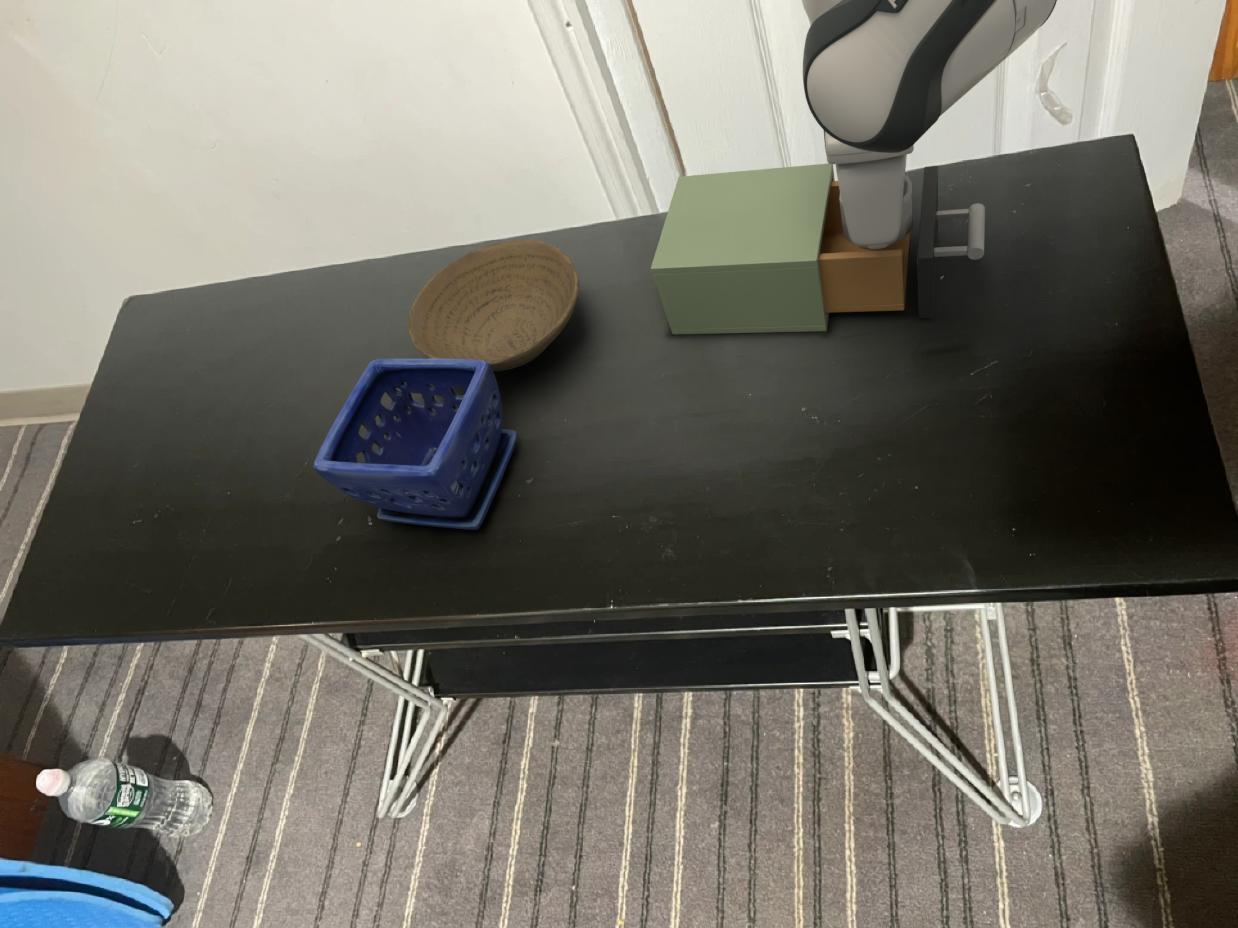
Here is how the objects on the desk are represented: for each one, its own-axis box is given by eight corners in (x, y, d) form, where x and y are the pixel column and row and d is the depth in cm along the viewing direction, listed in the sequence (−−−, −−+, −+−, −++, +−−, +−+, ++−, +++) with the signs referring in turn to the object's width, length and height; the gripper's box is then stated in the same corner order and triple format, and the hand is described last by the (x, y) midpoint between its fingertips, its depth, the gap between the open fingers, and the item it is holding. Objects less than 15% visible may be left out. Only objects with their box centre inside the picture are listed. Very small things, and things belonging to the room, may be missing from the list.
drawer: (983, 224, 87) (986, 161, 81) (981, 316, 80) (984, 254, 75) (792, 235, 94) (782, 178, 88) (775, 321, 87) (764, 265, 81)
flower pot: (423, 430, 93) (367, 353, 84) (536, 435, 88) (489, 354, 79) (372, 538, 86) (305, 468, 77) (491, 551, 81) (434, 477, 72)
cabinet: (840, 235, 93) (832, 162, 86) (826, 331, 86) (816, 260, 79) (697, 244, 99) (678, 176, 92) (672, 334, 91) (650, 268, 84)
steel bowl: (925, 214, 82) (924, 174, 79) (892, 259, 80) (890, 220, 77) (864, 201, 86) (860, 162, 82) (831, 244, 83) (826, 206, 80)
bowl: (603, 275, 100) (581, 219, 94) (595, 400, 89) (569, 346, 83) (452, 306, 104) (421, 254, 98) (427, 428, 93) (391, 378, 87)
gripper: (831, 15, 78) (843, 149, 88) (824, 161, 66) (840, 296, 77) (906, 0, 76) (910, 140, 86) (914, 149, 64) (917, 289, 75)
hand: (877, 214), depth 81 cm, fingers closed on drawer, steel bowl, 6 cm apart
